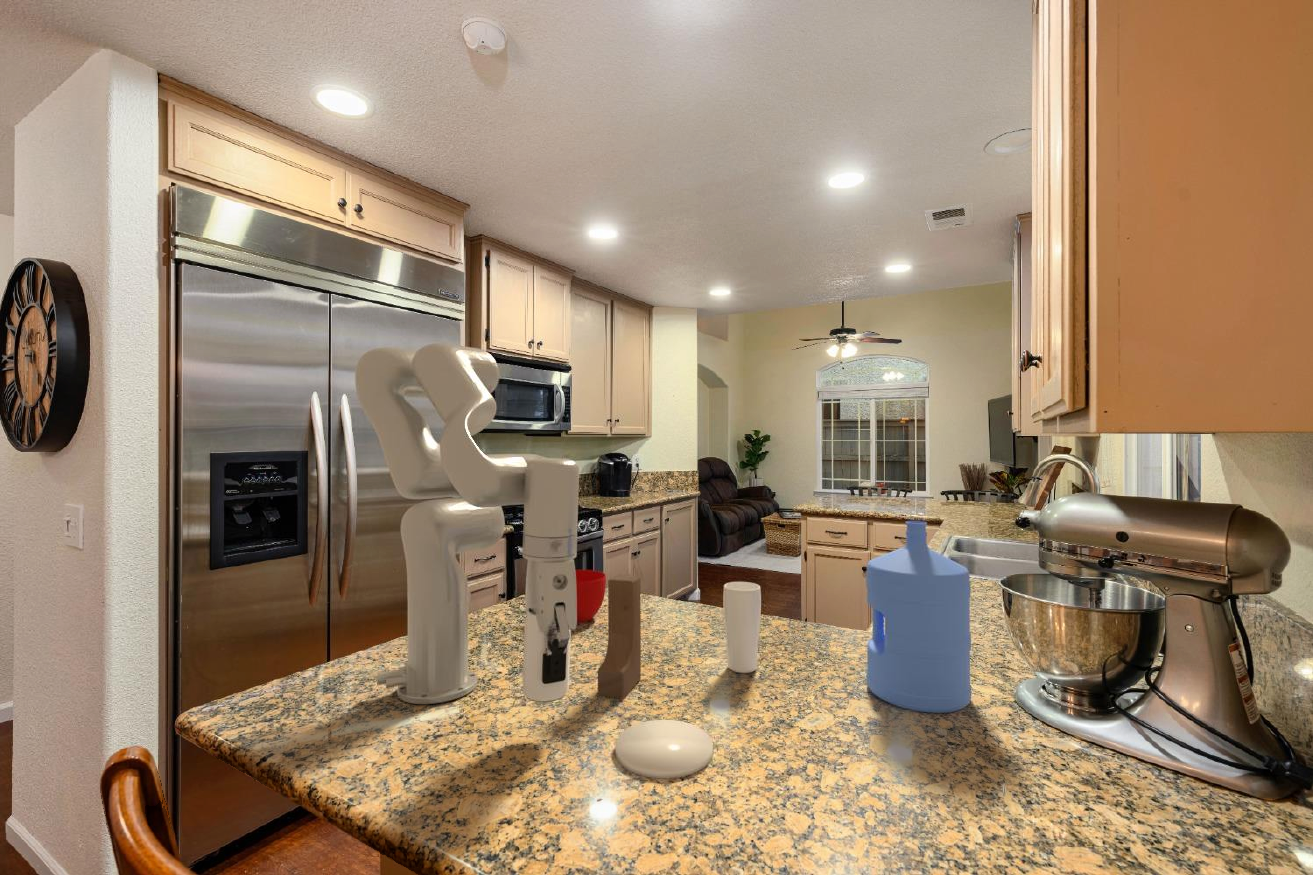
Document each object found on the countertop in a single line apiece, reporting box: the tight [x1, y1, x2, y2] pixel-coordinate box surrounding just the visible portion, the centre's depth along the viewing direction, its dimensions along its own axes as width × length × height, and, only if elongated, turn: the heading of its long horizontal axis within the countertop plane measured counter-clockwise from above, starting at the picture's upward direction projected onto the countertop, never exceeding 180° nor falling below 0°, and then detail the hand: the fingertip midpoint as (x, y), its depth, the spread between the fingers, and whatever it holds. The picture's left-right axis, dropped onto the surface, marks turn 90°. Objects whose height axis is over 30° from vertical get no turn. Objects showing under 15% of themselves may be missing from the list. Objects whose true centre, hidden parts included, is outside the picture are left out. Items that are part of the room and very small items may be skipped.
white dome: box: [615, 719, 714, 779], centre depth 78 cm, size 13×13×1 cm
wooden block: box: [597, 573, 642, 700], centre depth 98 cm, size 9×4×18 cm, turn 162°
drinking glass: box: [722, 581, 762, 674], centre depth 106 cm, size 7×7×15 cm
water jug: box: [865, 520, 972, 714], centre depth 96 cm, size 16×16×28 cm
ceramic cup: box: [575, 569, 607, 624], centre depth 135 cm, size 13×17×10 cm
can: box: [522, 608, 572, 704], centre depth 83 cm, size 6×6×12 cm
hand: (546, 670), depth 83 cm, fingers closed on can, 6 cm apart
